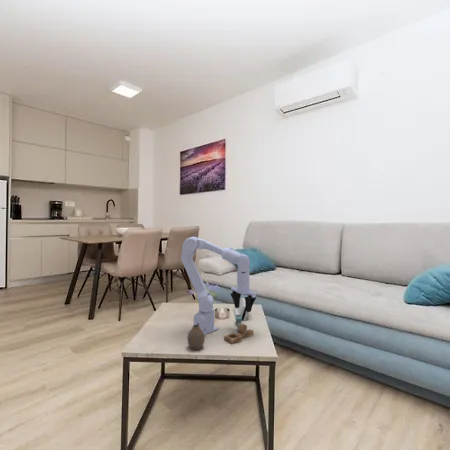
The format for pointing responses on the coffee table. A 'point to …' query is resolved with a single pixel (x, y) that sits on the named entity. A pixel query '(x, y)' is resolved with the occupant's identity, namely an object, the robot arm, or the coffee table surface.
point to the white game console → (241, 309)
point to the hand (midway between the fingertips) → (242, 309)
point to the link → (238, 335)
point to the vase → (196, 337)
